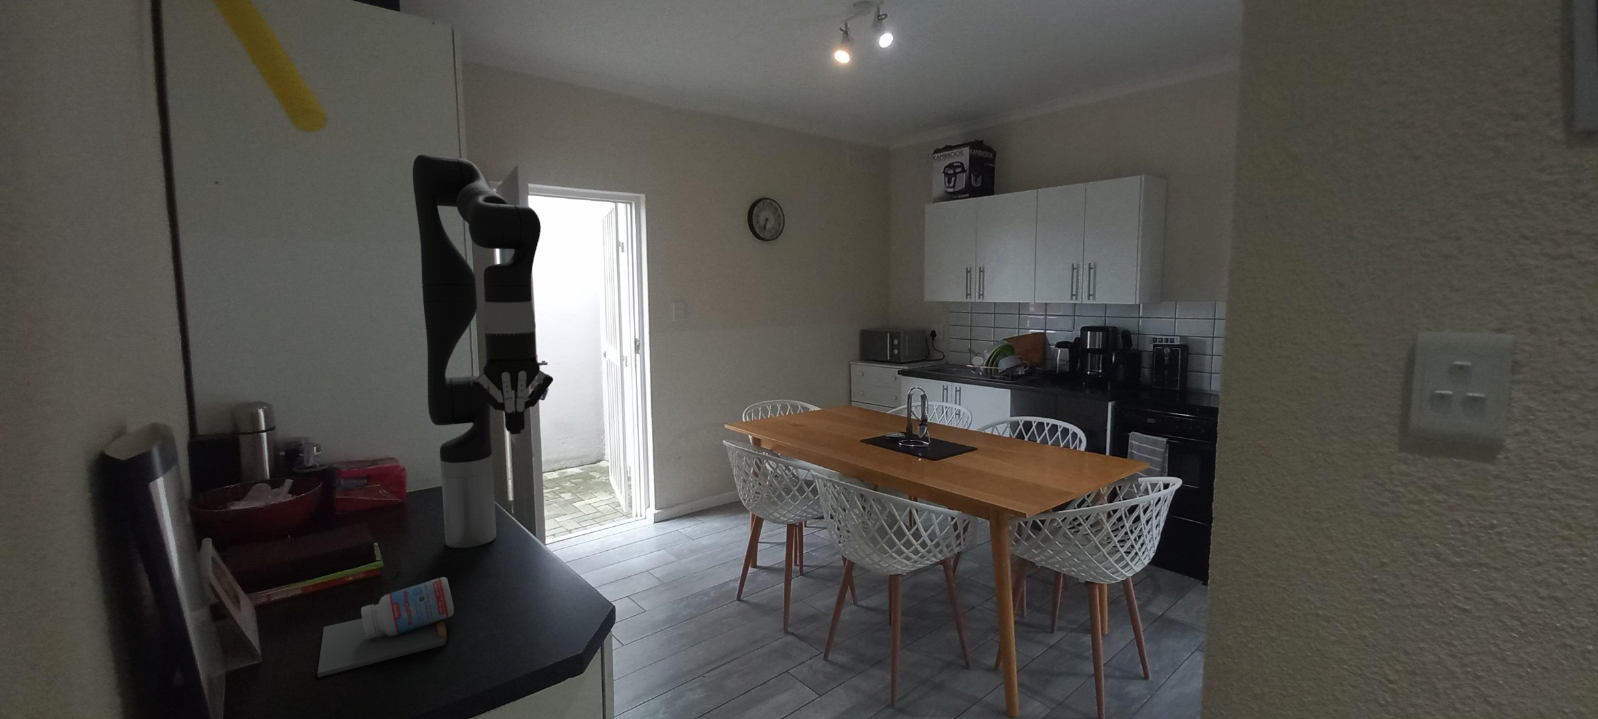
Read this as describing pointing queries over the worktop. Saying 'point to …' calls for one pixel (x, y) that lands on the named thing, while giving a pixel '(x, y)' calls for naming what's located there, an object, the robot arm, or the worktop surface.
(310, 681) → the worktop surface
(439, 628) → the bar
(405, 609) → the pill bottle
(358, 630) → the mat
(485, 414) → the robot arm
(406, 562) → the worktop surface
